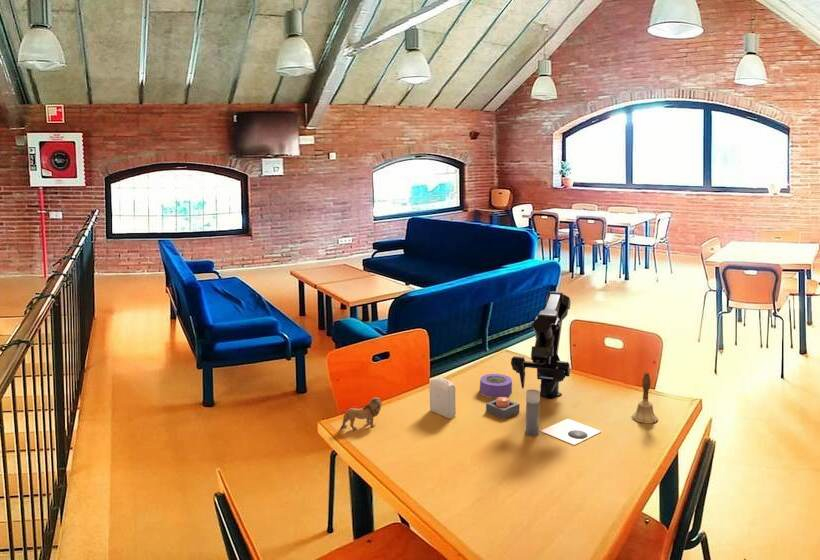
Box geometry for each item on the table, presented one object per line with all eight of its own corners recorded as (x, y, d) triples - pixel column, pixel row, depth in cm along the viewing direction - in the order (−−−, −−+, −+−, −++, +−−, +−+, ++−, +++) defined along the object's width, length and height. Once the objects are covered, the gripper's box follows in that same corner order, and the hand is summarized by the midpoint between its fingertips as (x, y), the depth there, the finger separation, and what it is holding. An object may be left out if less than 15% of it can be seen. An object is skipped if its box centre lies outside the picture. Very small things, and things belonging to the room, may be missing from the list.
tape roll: (513, 398, 241) (514, 385, 240) (481, 398, 241) (481, 385, 240) (509, 386, 253) (509, 373, 252) (478, 386, 253) (478, 373, 252)
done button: (502, 405, 232) (502, 395, 231) (512, 409, 228) (512, 399, 228) (493, 409, 229) (493, 399, 228) (503, 413, 226) (503, 403, 225)
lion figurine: (378, 419, 225) (377, 393, 223) (384, 425, 220) (384, 399, 218) (337, 428, 218) (336, 402, 216) (343, 434, 214) (342, 408, 212)
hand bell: (627, 419, 222) (629, 373, 219) (638, 411, 228) (640, 367, 224) (651, 426, 216) (654, 379, 213) (662, 418, 222) (665, 372, 219)
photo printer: (427, 410, 231) (427, 376, 229) (437, 407, 234) (437, 373, 231) (448, 419, 223) (448, 384, 221) (457, 416, 226) (457, 381, 223)
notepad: (567, 419, 222) (567, 418, 222) (601, 432, 213) (601, 431, 212) (540, 431, 214) (540, 430, 213) (574, 445, 204) (574, 444, 204)
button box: (501, 405, 234) (502, 397, 234) (519, 412, 228) (519, 404, 228) (486, 411, 229) (486, 403, 229) (503, 418, 223) (503, 410, 223)
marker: (531, 429, 215) (532, 388, 212) (541, 433, 212) (542, 392, 209) (522, 433, 213) (523, 391, 210) (532, 437, 210) (534, 395, 207)
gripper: (512, 332, 220) (504, 375, 212) (570, 338, 213) (564, 382, 206) (517, 348, 229) (509, 390, 221) (572, 354, 222) (566, 397, 215)
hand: (536, 389), depth 215 cm, fingers open, 9 cm apart
